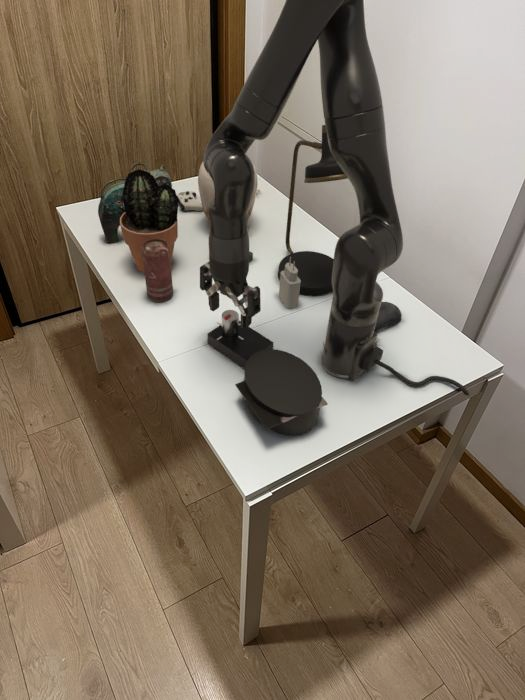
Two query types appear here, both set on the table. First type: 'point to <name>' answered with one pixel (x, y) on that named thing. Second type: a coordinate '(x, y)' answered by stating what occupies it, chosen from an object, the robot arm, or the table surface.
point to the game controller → (189, 201)
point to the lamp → (309, 264)
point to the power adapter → (289, 286)
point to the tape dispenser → (282, 392)
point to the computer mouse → (387, 316)
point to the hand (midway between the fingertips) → (229, 317)
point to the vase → (209, 193)
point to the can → (157, 270)
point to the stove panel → (238, 343)
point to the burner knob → (230, 323)
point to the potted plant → (148, 214)
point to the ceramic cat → (121, 203)
